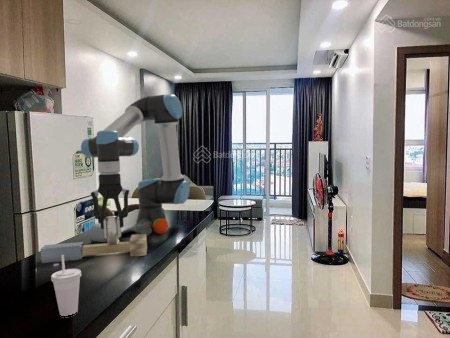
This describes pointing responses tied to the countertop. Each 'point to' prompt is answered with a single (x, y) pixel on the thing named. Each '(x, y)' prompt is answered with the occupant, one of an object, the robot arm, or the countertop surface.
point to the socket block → (138, 245)
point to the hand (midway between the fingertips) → (112, 236)
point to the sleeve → (61, 252)
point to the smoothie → (67, 289)
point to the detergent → (137, 230)
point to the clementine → (160, 226)
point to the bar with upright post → (108, 241)
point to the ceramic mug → (97, 233)
